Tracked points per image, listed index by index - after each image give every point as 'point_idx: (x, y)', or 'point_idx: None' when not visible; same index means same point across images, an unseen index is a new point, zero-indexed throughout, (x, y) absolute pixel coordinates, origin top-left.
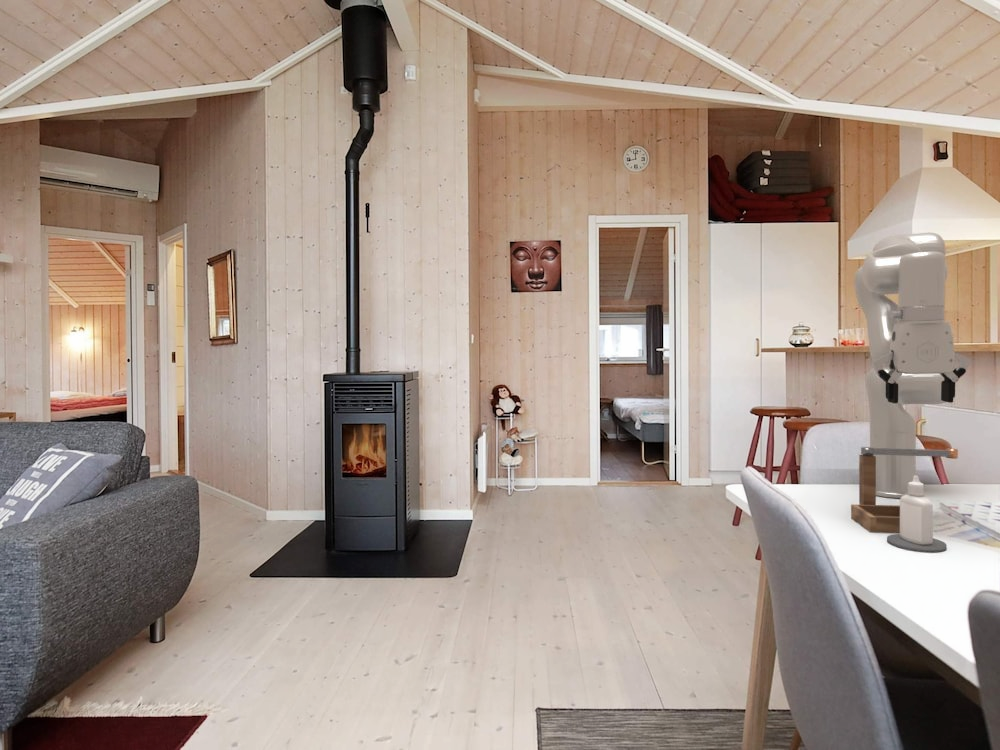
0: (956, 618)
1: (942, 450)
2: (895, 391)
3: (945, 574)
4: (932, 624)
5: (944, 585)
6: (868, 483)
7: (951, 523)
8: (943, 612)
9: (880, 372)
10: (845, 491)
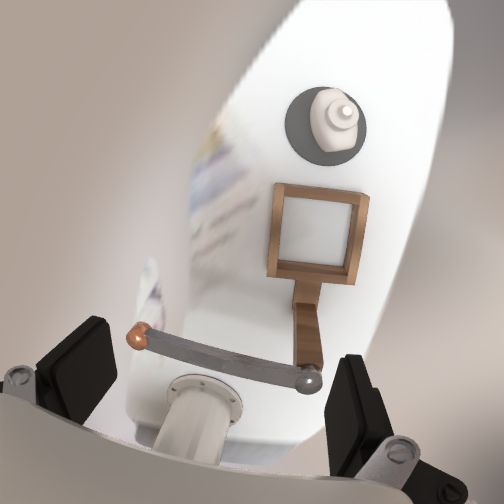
0: None
1: (154, 344)
2: (368, 394)
3: (351, 13)
4: None
5: None
6: (310, 328)
7: (202, 246)
8: None
9: (462, 492)
10: (266, 414)
